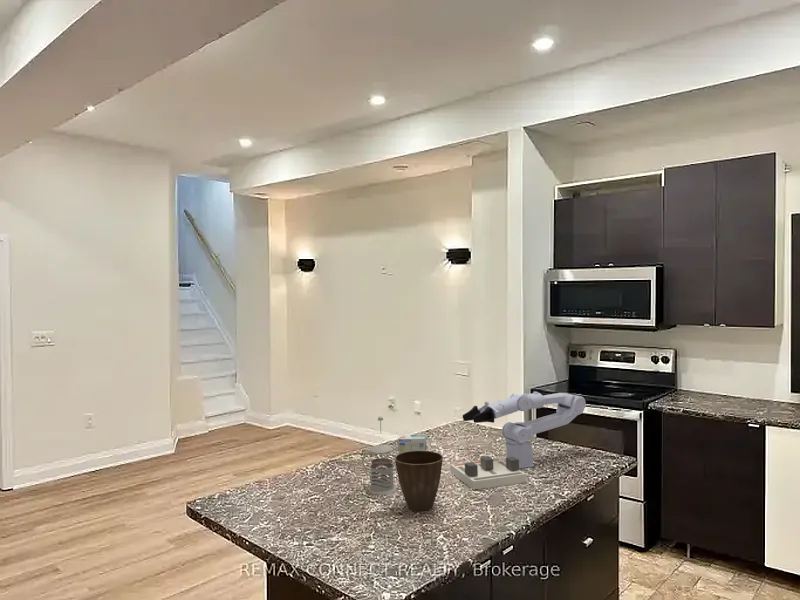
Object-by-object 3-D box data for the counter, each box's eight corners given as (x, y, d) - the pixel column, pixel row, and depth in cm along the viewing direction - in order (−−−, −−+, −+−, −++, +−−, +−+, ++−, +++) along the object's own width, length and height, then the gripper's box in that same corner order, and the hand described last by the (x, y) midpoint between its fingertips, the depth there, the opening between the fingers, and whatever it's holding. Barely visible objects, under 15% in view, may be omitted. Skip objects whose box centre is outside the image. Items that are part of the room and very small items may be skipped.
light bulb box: (427, 461, 234) (426, 433, 233) (426, 466, 227) (425, 438, 227) (400, 460, 235) (399, 433, 234) (398, 466, 228) (397, 438, 228)
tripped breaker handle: (488, 466, 214) (488, 456, 214) (493, 469, 210) (493, 459, 210) (480, 467, 213) (480, 457, 213) (485, 470, 209) (485, 460, 209)
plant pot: (389, 503, 189) (388, 453, 189) (432, 496, 195) (431, 448, 194) (406, 520, 175) (405, 467, 175) (452, 512, 181) (450, 460, 180)
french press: (393, 495, 197) (391, 420, 196) (359, 493, 199) (357, 419, 198) (399, 485, 206) (397, 413, 206) (367, 483, 209) (365, 413, 208)
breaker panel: (499, 466, 225) (498, 447, 224) (526, 482, 206) (525, 462, 205) (450, 472, 218) (449, 454, 218) (473, 490, 199) (473, 469, 199)
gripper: (486, 397, 228) (456, 407, 222) (507, 399, 214) (476, 409, 209) (490, 415, 228) (460, 425, 222) (512, 418, 214) (480, 429, 209)
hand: (468, 419), depth 216 cm, fingers open, 7 cm apart
